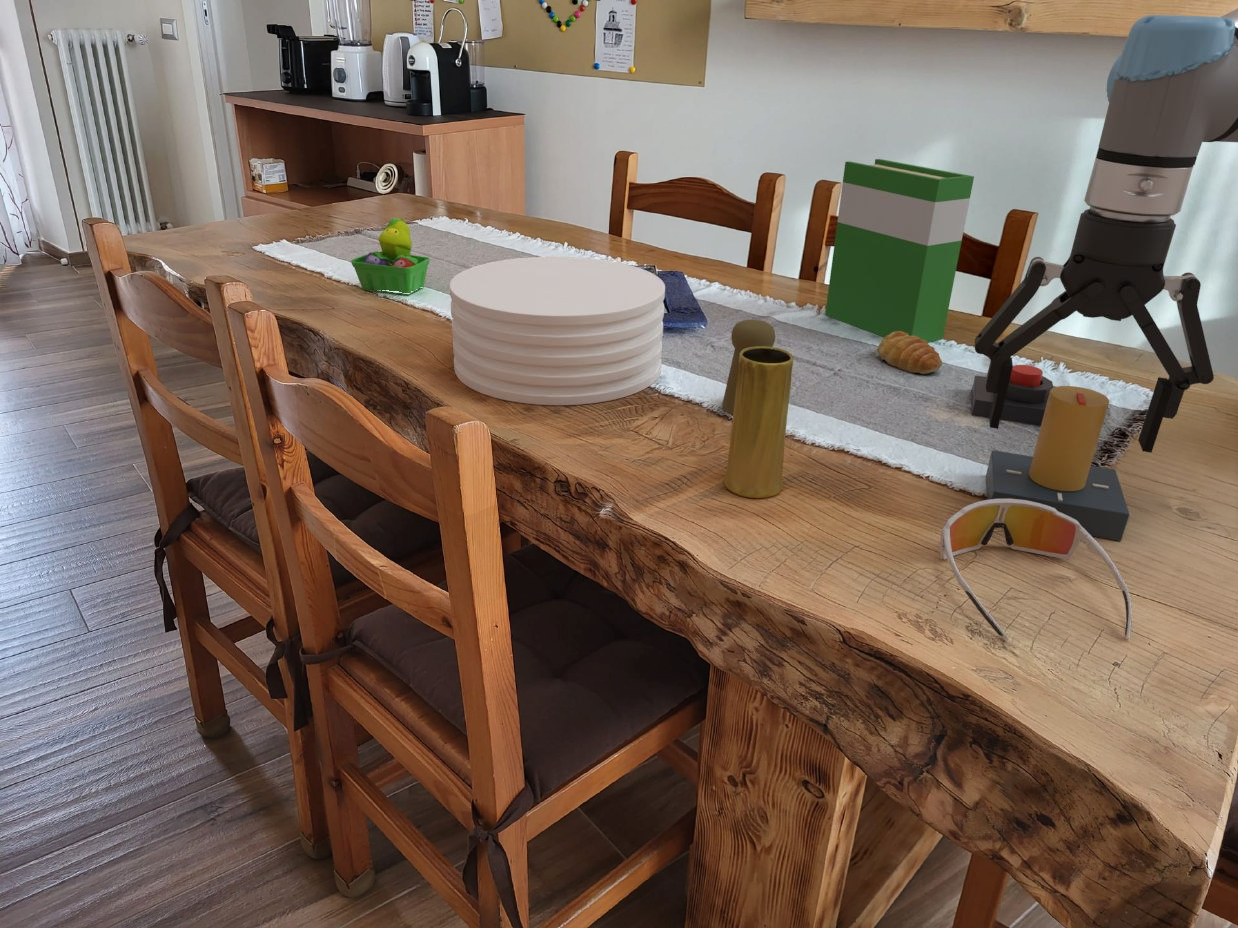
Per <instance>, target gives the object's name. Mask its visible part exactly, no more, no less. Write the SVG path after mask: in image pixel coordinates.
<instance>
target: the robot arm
mask: <svg viewBox="0 0 1238 928" xmlns="http://www.w3.org/2000/svg"><path fill="white" fill-rule="evenodd" d="M1106 98H1107V101H1108V106H1107V109H1106V115H1105V118H1104V122H1103V126H1102V131H1101V133H1100V134H1101V135H1100V139H1099V143H1098V146H1097V147H1098V148H1097V152H1096V155H1095V158H1094V162H1093V166H1092V169H1091V174H1090V177H1089V181H1088V184H1087V188H1086V191H1085V196H1084V199H1083V200H1084V203H1085V204H1086V205H1087V206H1088V207H1089V208H1088V209H1085V210H1084V211H1083V212H1082V213H1080V215H1079V220H1078V223H1077V227H1076V231H1075V235H1074V240H1073V242H1072V247H1071V251H1070V254H1069V257H1068V258H1067V260H1066V261H1065V263H1064V264H1058V263H1054V262H1050V261H1049V262H1048V261H1045V260H1044V258H1043V257H1042V256H1035V257H1033V258H1032V259H1031V260H1030V262H1029V265H1028V267H1027V270H1026V273H1025V275H1024V278H1023V280H1022V281H1021V282H1020V284H1019V285H1018V286H1017V287H1016V288H1015V289H1014V291H1013V292H1012V293H1011V294H1010V295H1009V297H1008V298H1007V299H1006V300H1005V302H1004V303H1003V304H1002V305H1001V306H1000V307H999V309H998V310H997V311H996V312H995V314H994V315H993V316H992V317H991V318H990V320H989V321H988V322H987V323H986V325H985V326H983V328H982V330H980V332H979V333H978V334H977V335H976V336H975V339H974V351H975V353H977V354H979V355H983V356H985V357H987V358H989V360H990V361H989V365H988V370H987V373H986V377H987V378H986V391H987V392H990V393H995V396H994V400H993V404H992V408H991V413H990V417H989V418H988V419H989V428H991V429H996V430H998V429H999V426H1000V422H1001V420H1000V418H1001V414H1002V410H1003V406H1004V401H1005V397H1006V393H1007V389H1008V385H1009V381H1010V376H1011V372H1012V368H1013V366H1014V364H1013V357H1012V356H1014V355H1015V354H1017V353H1018V352H1020V351H1021V350H1022V349H1024V348H1025V347H1027V346H1028V345H1029V344H1030V343H1033V341H1034V340H1036V339H1037V338H1039V337H1040V336H1041V335H1043V334H1044V333H1045V332H1047V331H1048V330H1050V329H1051V328H1053V327H1054V326H1055V325H1056V324H1058V323H1059V322H1061V321H1062V320H1065V319H1067V318H1069V317H1070V316H1071V315H1073V314H1074V313H1076V312H1077V313H1078V314H1080V315H1082V316H1083V317H1084V318H1091V319H1094V318H1105V319H1107V320H1110V321H1117V322H1121V321H1122V320H1124V319H1128V318H1130V317H1133V318H1134V319H1133V320H1135V322H1136V323H1137V326H1138V327H1139V329H1140V330H1141V332H1142V333H1143V335H1144V337H1145V338H1146V340H1147V342H1148V344H1149V345H1150V347H1151V348H1152V350H1153V352H1154V354H1155V355H1156V357H1157V358H1158V360H1159V363H1160V364H1161V365H1162V366H1163V368H1164V371H1165V372H1166V373H1167V375H1168V378H1167V377H1160V376H1158V377H1157V380H1156V383H1155V386H1154V390H1153V392H1152V396H1151V399H1150V402H1149V405H1148V408H1147V411H1146V415H1145V418H1144V421H1143V424H1142V427H1141V430H1140V434H1139V436H1138V440H1137V441H1138V443H1139V446H1140V449H1141V451H1142V452H1143V453H1144V452H1145V453H1150V454H1151V453H1152V452H1153V450H1154V446H1155V445H1156V444H1155V443H1156V440H1157V438H1158V435H1159V431H1160V428H1161V425H1162V422H1163V419H1164V418H1165V419H1171V420H1173V419H1174V418H1175V417H1176V416H1177V414H1178V411H1179V408H1180V405H1181V402H1182V399H1183V397H1184V393H1185V391H1187V390H1189V389H1190V388H1191V385H1196V384H1197V385H1198V384H1202V385H1208V384H1210V383H1212V382H1213V380H1214V378H1215V375H1214V371H1213V368H1212V363H1211V358H1210V354H1209V349H1208V346H1207V342H1206V337H1205V333H1204V329H1203V324H1202V320H1201V316H1200V312H1199V307H1198V303H1199V302H1198V301H1199V297H1200V291H1201V282H1200V280H1199V279H1198V278H1197V277H1196V276H1195V274H1194V273H1192V272H1188V271H1187V272H1184V273H1183V274H1181V275H1165V274H1164V266H1165V264H1166V260H1167V257H1168V254H1169V250H1170V247H1171V243H1172V240H1173V237H1174V234H1175V230H1176V228H1177V223H1175V220H1174V219H1173V218H1171V217H1172V216H1175V215H1176V214H1179V213H1180V212H1181V211H1182V207H1183V203H1184V200H1185V197H1186V194H1187V190H1188V186H1189V182H1190V179H1191V176H1192V172H1193V169H1194V166H1196V162H1197V157H1198V155H1199V153H1200V150H1201V147H1202V145H1203V143H1214V142H1219V143H1238V8H1235V9H1233V10H1231V11H1230V12H1229V11H1228V12H1227V13H1226V14H1223V15H1221V16H1203V15H1202V16H1200V15H1199V16H1197V15H1173V14H1171V15H1170V14H1148V15H1145V16H1142V17H1141V18H1138V19H1137V20H1136V21H1135V22H1134V23H1133V24H1132V26H1131V28H1130V30H1129V33H1128V35H1127V38H1126V41H1125V43H1124V45H1123V49H1122V52H1121V54H1120V55H1119V56H1118V57H1117V59H1115V61H1114V63H1113V64H1112V67H1111V69H1110V71H1109V73H1108V76H1107V80H1106ZM1054 279H1060V283H1061V284H1062V286H1063V289H1064V290H1065V291H1063V292H1062V293H1061V294H1059V295H1057V296H1056V297H1055V298H1054V299H1053V300H1052V301H1051V302H1050V303H1049V304H1048V305H1046V306H1045V307H1044V308H1042V309H1041V310H1040V311H1039V312H1037V313H1036V314H1035V315H1033V316H1032V317H1031V318H1029V319H1028V320H1026V321H1025V322H1024V323H1022V324H1021V325H1020V326H1018V327H1017V328H1016V329H1014V330H1013V331H1012V332H1011V333H1009V334H1008V335H1006V336H1005V337H1004V338H1003V339H1001V340H1000V341H998V339H999V338H1000V337H1001V336H1002V335H1003V333H1004V332H1005V331H1006V330H1007V328H1008V327H1009V326H1010V325H1011V324H1012V322H1014V320H1015V319H1016V318H1017V316H1018V315H1019V314H1020V313H1021V312H1022V311H1023V310H1024V308H1025V307H1026V306H1027V305H1028V303H1030V301H1031V300H1032V299H1033V298H1034V296H1036V294H1037V292H1038V290H1039V288H1041V287H1046V286H1048V285H1049V284H1050V283H1051V282H1052V281H1053V280H1054ZM1163 290H1165V291H1168V296H1169V298H1170V299H1171V300H1172V301H1174V302H1176V307H1177V312H1178V315H1179V320H1180V324H1181V327H1182V332H1183V336H1184V340H1185V345H1186V349H1187V354H1188V356H1189V361H1190V366H1184V367H1182V365H1181V363H1180V362H1179V360H1178V359H1177V357H1176V355H1175V354H1174V352H1173V350H1172V348H1171V347H1170V345H1169V344H1168V342H1167V340H1166V339H1165V337H1164V335H1163V333H1162V332H1161V330H1160V328H1159V327H1158V325H1157V323H1156V321H1155V320H1154V319H1153V316H1152V314H1151V313H1150V312H1149V310H1148V308H1147V307H1146V305H1147V304H1148V303H1149V302H1150V301H1152V300H1153V299H1154V298H1155V297H1157V296H1158V295H1159V294H1160V293H1162V291H1163ZM996 341H998V342H996Z"/></svg>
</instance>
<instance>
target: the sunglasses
mask: <svg viewBox="0 0 1238 928" xmlns="http://www.w3.org/2000/svg"><path fill="white" fill-rule="evenodd" d="M995 529H1001V531H1002V534H1003V536H1004V538H1005V542H1006V545H1007V546H1008V547H1009V548H1010V549H1011V550H1016V551H1021V552H1026V553H1031V554H1036V555H1041V556H1045V557H1052V558H1057V559H1061V560H1071V559H1072V557H1073V556H1074V554H1075V552H1076V551H1077V549H1078V546H1079V544H1080V542H1082V543H1083V544H1084V545H1085V547H1086V548H1087V549H1088V551H1089V552H1090V553H1093V554H1094V555H1096V556H1097V557H1098V558H1100V559H1101V560H1102V561H1103V562H1104V563H1105V564H1106V565H1107V567H1108V569H1109V570H1110V573H1111V574H1112V576H1113V578H1114V580H1115V582H1116V584H1117V586H1118V588H1119V590H1120V591H1121V594H1122V596H1123V599H1124V604H1125V620H1126V621H1125V629H1124V639H1125V640H1130V638H1131V633H1132V632H1131V630H1132V623H1133V622H1132V616H1133V615H1132V611H1133V610H1132V601H1131V596H1130V592H1129V591H1130V590H1129V588H1128V586H1127V584H1126V582H1125V580H1124V578H1123V577H1122V575H1121V572H1120V571H1119V569H1118V568H1117V566H1116V565H1115V564H1114V562H1113V561H1112V559H1111V557H1110V556H1109V555H1108V553H1107V552H1106V550H1105V549H1104V548H1103V547H1102V546H1101V544H1100V543H1099V542H1098V541H1097V540H1096V539H1095V537H1094V536H1091V535H1090V534H1089V533H1088V532H1087V531H1086V530H1085V529H1084V528H1083V527H1082V526H1081V525H1080V524H1079V522H1078V521H1077V520H1075V519H1073V518H1071V517H1069V516H1067V515H1065V514H1063V513H1061V512H1058V511H1057V510H1056V509H1055V508H1053V507H1050V506H1047V505H1044V504H1040V503H1036V502H1032V501H1027V500H1019V499H990V500H987V499H985V500H979V501H976V502H974V503H970V504H968V505H966V506H964V507H962V508H961V509H960V510H958V511H957V512H956V513H954V514H953V515H952V516H951V517H950V518H949V519H948V520H947V521H946V523H945V524H944V526H943V527H942V530H941V533H940V540H939V555H940V558H941V559H942V560H947V561H948V563H949V565H950V567H951V570H952V572H953V574H954V576H955V579H956V582H957V584H958V585H959V586H960V589H962V590H963V592H964V593H965V594H966V596H967V597H968V598H969V600H970V602H971V603H972V604H973V606H975V609H977V610H978V612H979V613H980V614H981V616H982V617H983V618H984V620H985V621H986V622H987V623H988V624H989V626H990V627H991V628H992V629H993V631H994V632H995V633H996V634H997V635H998V636H999V637H1000V639H1002V640H1005V641H1009V640H1010V638H1009V636H1008V635H1007V633H1006V632H1005V631H1004V630H1003V629H1002V628H1001V626H1000V625H999V624H998V623H997V621H996V620H995V619H994V618H993V616H992V615H991V614H990V612H989V611H988V610H987V609H986V608H985V606H984V605H983V603H982V602H981V600H980V599H979V598H978V597H977V596H976V594H975V593H974V591H973V590H972V589H971V586H969V585H968V583H967V581H966V580H965V579H964V577H963V576H962V574H961V572H960V571H959V568H958V566H957V564H956V560H955V559H954V557H955V556H958V555H962V554H966V553H968V552H971V551H977V550H979V549H980V548H981V547H982V546H987V544H988V543H989V542H990V540H991V538H992V536H993V534H994V531H995Z"/></svg>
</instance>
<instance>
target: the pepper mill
mask: <svg viewBox="0 0 1238 928" xmlns="http://www.w3.org/2000/svg"><path fill="white" fill-rule="evenodd" d="M730 337H731V338H730V339H731V344H732V346H733V347H734V350H733V355H732V360H731V364H730V368H729V372H728V377H727V380H726V385H725V391H724V396H723V398H722V404H721V408H722V410H723V411H724V412H725V413H727V414H729V415H732V416H733V411H734V403H735V394H736V384H737V374H738V365H739V356H740V352H741V351H742V350H743V349H745V348H749V347H756V346H768V347H774V344H775V342H776V331H775V328H774V326H772V324H771V323H768V322H767V321H764V320H760V319H743V320H740V321H738V322H737V323H735V325H734V326H733V327H732V330H731V336H730Z"/></svg>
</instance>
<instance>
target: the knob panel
mask: <svg viewBox="0 0 1238 928" xmlns="http://www.w3.org/2000/svg"><path fill="white" fill-rule="evenodd" d="M1032 459H1033V455H1032V456H1031V455H1025V454H1020V453H1019V454H1018V453H1012V452H1007V451H1000V450H995V449H994V450H993V449H992V450H991V452H990V456H989V461H988V465H987V469H986V473H985V478H986V479H985V480H986V482H985V483H986V500H990V499H1019V500H1027V501H1032V502H1036V503H1040V504H1044V505H1047V506H1050V507H1053V508H1055V509H1056V510H1057V511H1058V512H1061V513H1063V514H1065V515H1067V516H1069V517H1071V518H1073V519H1075V520H1077V521H1078V522H1079V524H1080V525H1081V526H1082V527H1083V528H1084V529H1085V530H1086V531H1087V532H1088V533H1089V534H1090V535H1091V536H1092V537H1093V538H1100V539H1107V540H1111V541H1117V542H1122V539H1123V536H1124V533H1125V530H1126V528H1127V524H1128V521H1129V517H1130V512H1129V508H1128V505H1127V502H1126V499H1125V495H1124V491H1123V489H1122V485H1121V482H1120V480H1119V476H1118V473H1117V470H1116V469H1115V468H1109V467H1103V466H1102V467H1101V466H1096V465H1091V467H1090V470H1089V474H1088V477H1087V480H1086V484H1085V487H1084V488H1083V489H1081V490H1078V491H1070V492H1069V491H1058V490H1053V489H1050V488H1046V487H1044V486H1041V485H1039V484H1037V483H1036V482H1034V481H1033V480H1032V479H1031V478H1030V476H1029V470H1030V467H1031V463H1032Z"/></svg>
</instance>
